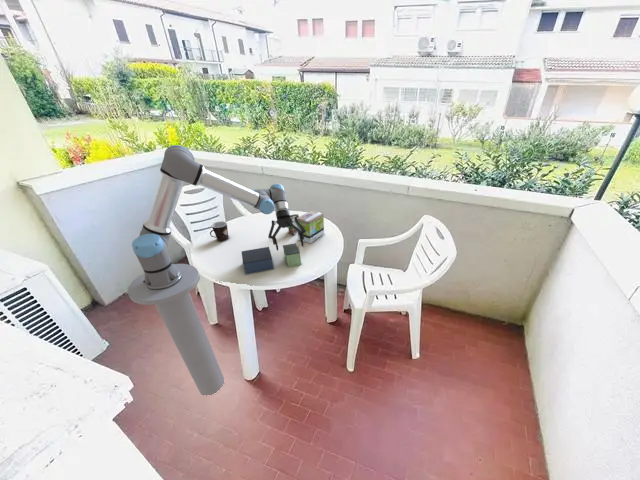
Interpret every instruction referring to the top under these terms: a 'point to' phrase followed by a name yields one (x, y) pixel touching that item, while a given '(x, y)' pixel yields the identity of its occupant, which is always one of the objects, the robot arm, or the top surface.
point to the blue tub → (257, 260)
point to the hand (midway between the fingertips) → (290, 247)
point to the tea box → (311, 225)
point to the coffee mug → (220, 230)
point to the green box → (292, 254)
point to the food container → (293, 224)
